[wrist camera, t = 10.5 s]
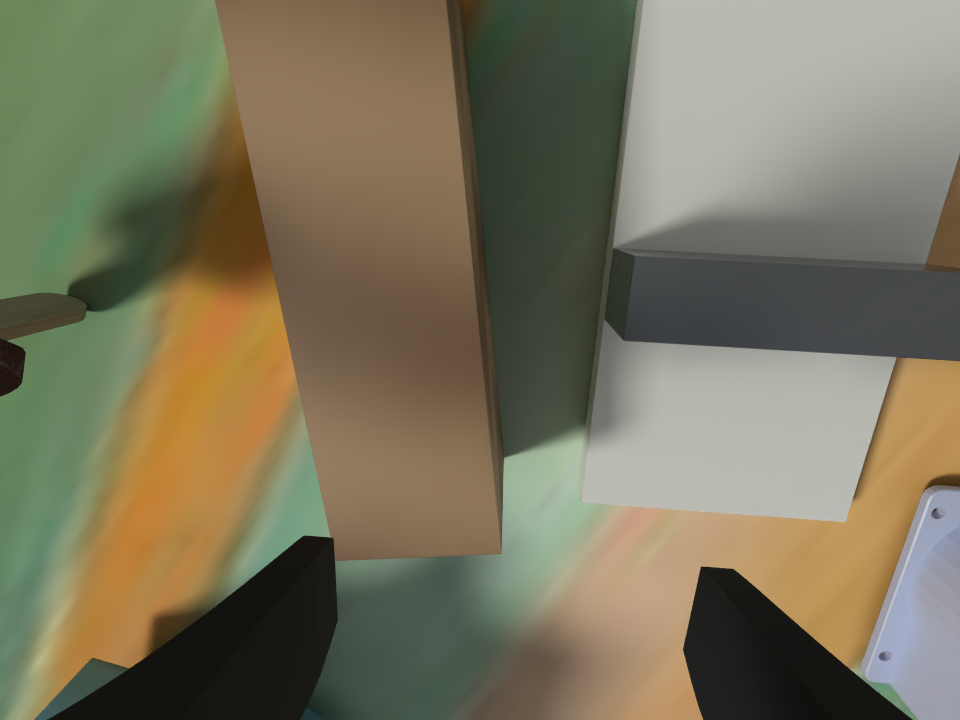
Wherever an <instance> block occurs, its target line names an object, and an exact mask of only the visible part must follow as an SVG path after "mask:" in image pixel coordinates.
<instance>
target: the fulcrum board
mask: <svg viewBox="0 0 960 720" xmlns="http://www.w3.org/2000/svg"><path fill="white" fill-rule="evenodd" d="M959 155H960V0H638V1H637V4H636V12H635V20H634V28H633V37H632V45H631V53H630V62H629V70H628V78H627V87H626V95H625V103H624V111H623V120H622V128H621V136H620V145H619V153H618V161H617V169H616V178H615V186H614V194H613V203H612V211H611V219H610V227H609V236H608V244H607V252H606V261H605V269H604V277H603V286H602V294H601V302H600V310H599V319H598V327H597V335H596V344H595V352H594V360H593V368H592V377H591V385H590V393H589V402H588V410H587V418H586V426H585V435H584V443H583V451H582V460H581V468H580V476H579V485H578V491H579V495H580V499H581V503H594V504H607V505H621V506H635V507H648V508H662V509H675V510H689V511H703V512H716V513H730V514H744V515H757V516H771V517H784V518H798V519H812V520H825V521H839V522H846V519H847V515H848V512H849V509H850V506H851V503H852V499H853V496H854V493H855V490H856V486H857V483H858V480H859V477H860V474H861V470H862V467H863V464H864V461H865V457H866V454H867V451H868V448H869V445H870V441H871V438H872V435H873V432H874V428H875V425H876V422H877V419H878V416H879V412H880V409H881V406H882V403H883V399H884V396H885V393H886V390H887V387H888V383H889V380H890V377H891V374H892V370H893V367H894V364H895V361H896V358H897V357H901V358H917V359H934V360H951V361H960V269H959V268H951V267H943V266H936V265H928V264H926V261H927V258H928V255H929V251H930V248H931V245H932V242H933V238H934V235H935V232H936V229H937V226H938V222H939V219H940V216H941V213H942V209H943V206H944V203H945V200H946V197H947V193H948V190H949V187H950V184H951V180H952V177H953V174H954V171H955V168H956V164H957V161H958V158H959Z"/></svg>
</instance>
